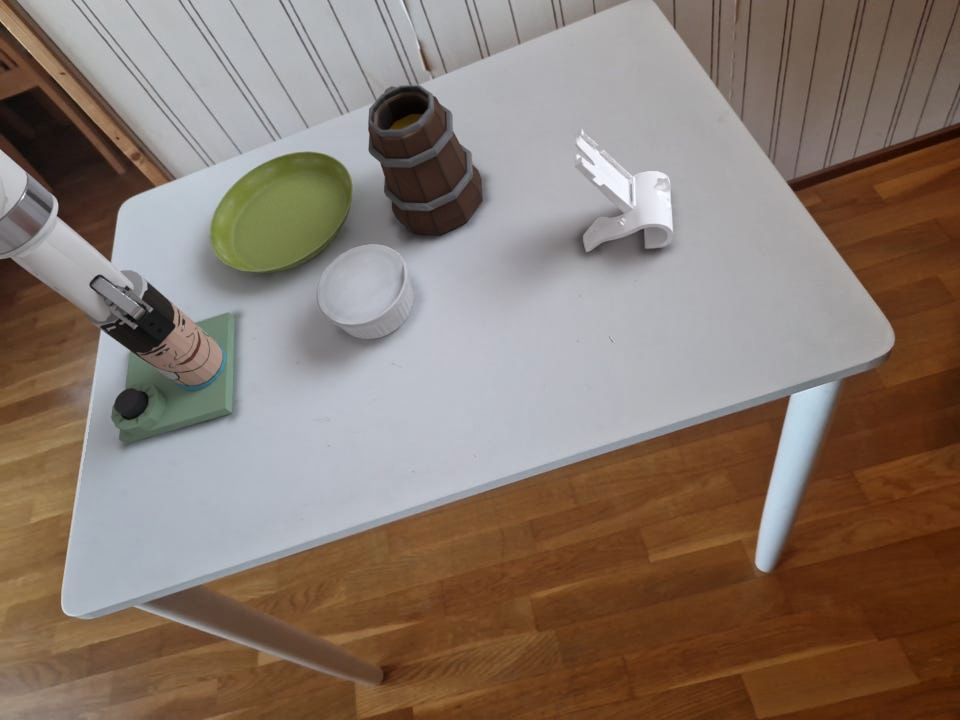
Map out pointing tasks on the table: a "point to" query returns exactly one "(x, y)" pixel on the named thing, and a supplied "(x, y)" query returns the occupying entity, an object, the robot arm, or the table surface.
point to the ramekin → (366, 291)
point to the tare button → (131, 403)
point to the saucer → (282, 212)
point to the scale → (179, 391)
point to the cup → (169, 341)
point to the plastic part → (626, 198)
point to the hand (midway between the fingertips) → (145, 322)
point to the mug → (422, 161)
